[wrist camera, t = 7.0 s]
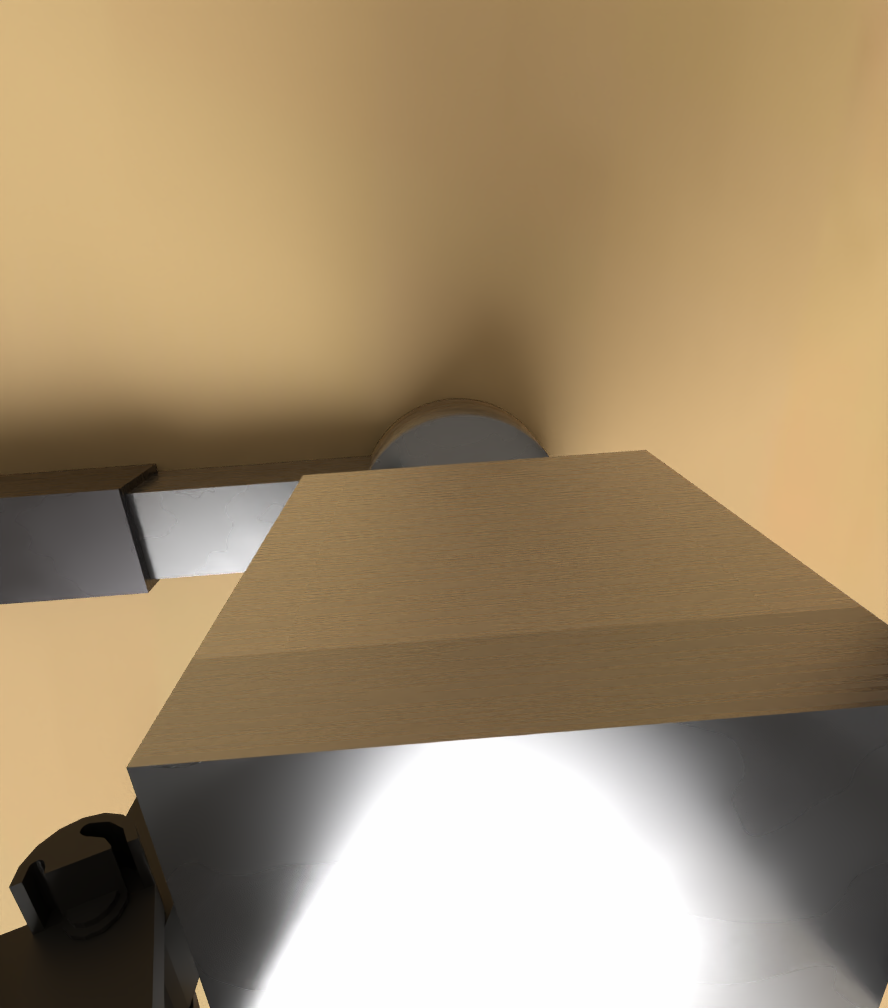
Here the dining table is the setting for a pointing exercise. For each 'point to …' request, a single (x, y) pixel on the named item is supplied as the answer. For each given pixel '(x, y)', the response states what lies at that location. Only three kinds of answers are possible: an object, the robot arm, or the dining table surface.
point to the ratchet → (202, 507)
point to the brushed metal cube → (527, 754)
